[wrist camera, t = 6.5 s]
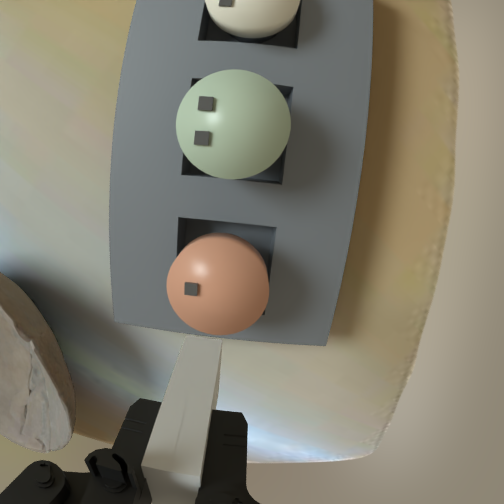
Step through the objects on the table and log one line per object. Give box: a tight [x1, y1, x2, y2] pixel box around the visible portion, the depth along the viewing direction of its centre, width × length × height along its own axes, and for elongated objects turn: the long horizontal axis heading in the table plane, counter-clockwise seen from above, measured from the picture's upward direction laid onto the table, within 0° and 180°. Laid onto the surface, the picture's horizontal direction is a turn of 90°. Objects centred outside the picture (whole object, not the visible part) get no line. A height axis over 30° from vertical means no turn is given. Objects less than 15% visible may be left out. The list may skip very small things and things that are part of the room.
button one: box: [167, 233, 269, 335], centre depth 21 cm, size 6×6×5 cm
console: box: [109, 0, 373, 346], centre depth 22 cm, size 18×32×4 cm, turn 174°
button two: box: [176, 69, 291, 179], centre depth 18 cm, size 6×6×5 cm
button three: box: [205, 0, 300, 43], centre depth 17 cm, size 6×6×5 cm
